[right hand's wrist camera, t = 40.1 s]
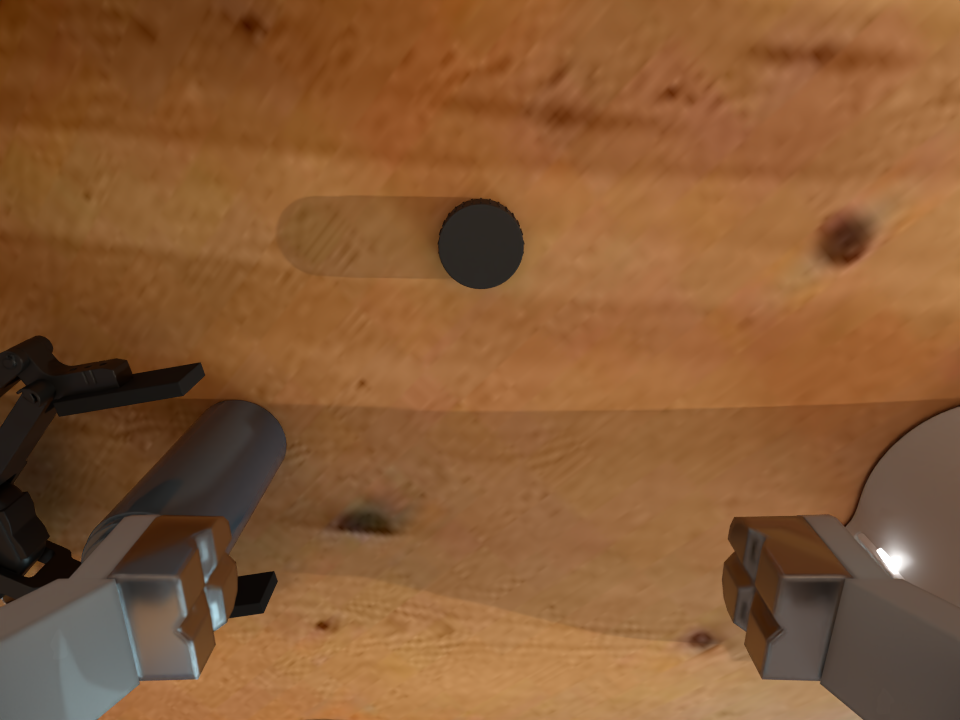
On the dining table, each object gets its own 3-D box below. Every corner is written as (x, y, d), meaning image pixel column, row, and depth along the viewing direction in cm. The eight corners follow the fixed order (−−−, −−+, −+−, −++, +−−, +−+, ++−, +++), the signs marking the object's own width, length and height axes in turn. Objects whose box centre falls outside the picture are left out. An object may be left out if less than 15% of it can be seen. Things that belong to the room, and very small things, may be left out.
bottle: (236, 495, 43) (83, 730, 26) (176, 429, 41) (-27, 636, 25) (305, 452, 42) (190, 670, 25) (246, 383, 40) (82, 567, 23)
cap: (498, 182, 36) (499, 186, 33) (536, 256, 37) (539, 265, 35) (425, 222, 36) (421, 229, 34) (464, 293, 38) (463, 304, 36)
